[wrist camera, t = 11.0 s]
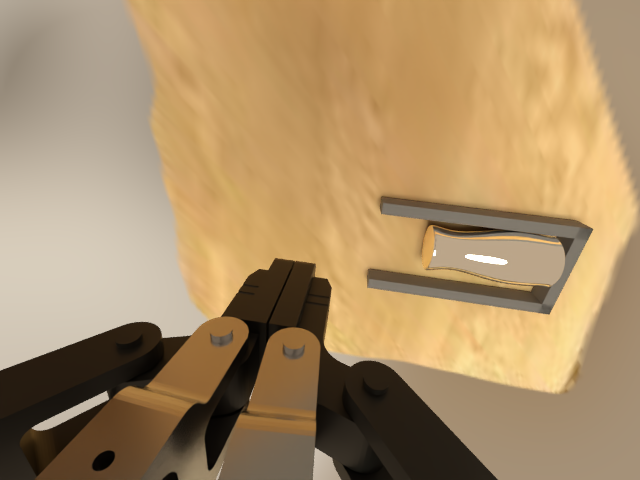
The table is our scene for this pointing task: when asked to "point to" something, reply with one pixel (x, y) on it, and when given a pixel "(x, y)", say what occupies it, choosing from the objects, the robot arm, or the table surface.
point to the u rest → (566, 231)
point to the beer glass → (495, 255)
